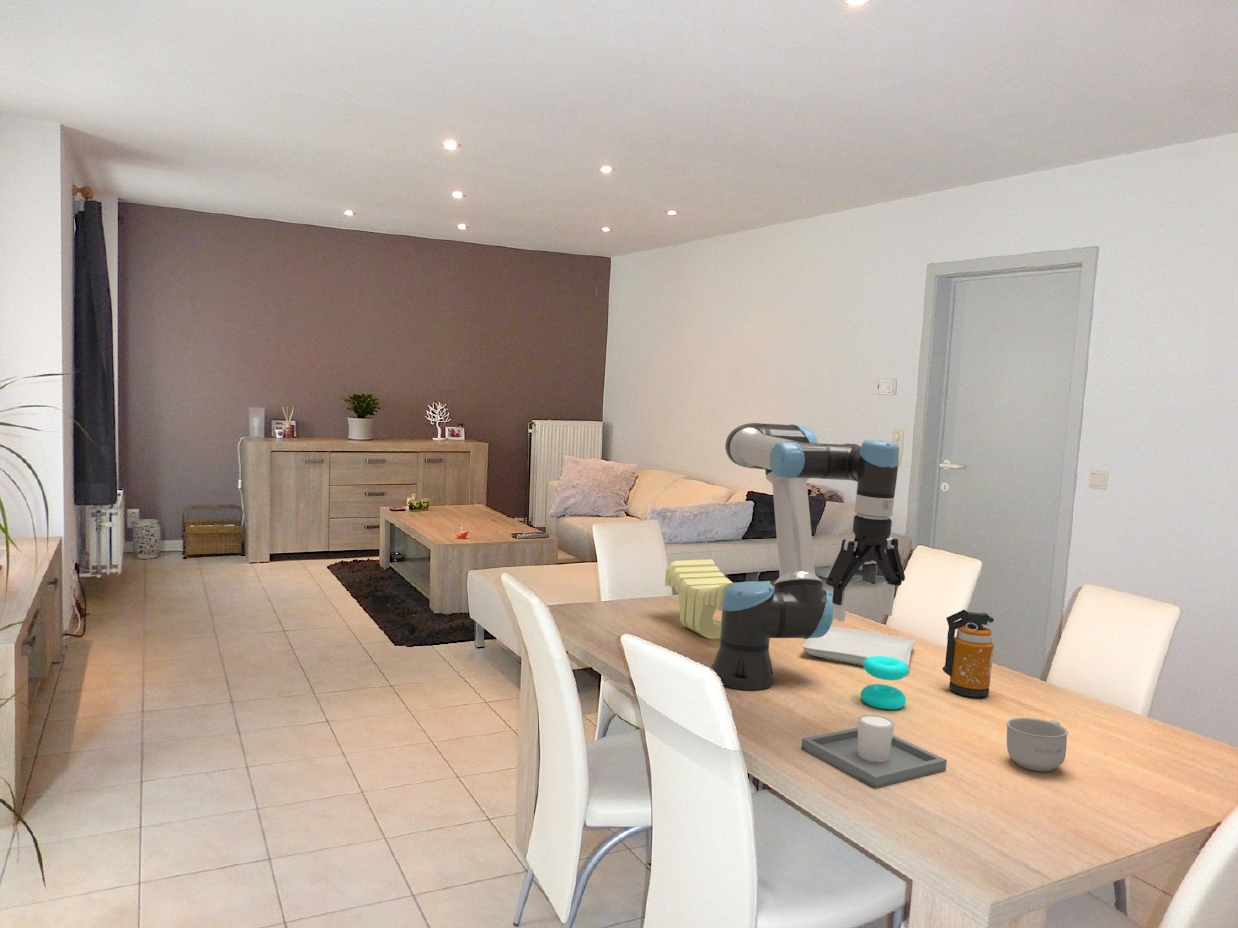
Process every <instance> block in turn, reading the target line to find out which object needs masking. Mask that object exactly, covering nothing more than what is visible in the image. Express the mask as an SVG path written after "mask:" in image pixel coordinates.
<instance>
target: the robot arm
mask: <svg viewBox="0 0 1238 928" xmlns="http://www.w3.org/2000/svg"><path fill="white" fill-rule="evenodd" d="M725 440H726V441H725V445H724V446H725V447H724V448H725V453H726V455H727V457H728V458H729V460H730V461H731V462H732V463H734V464H735V465H737V466H740V467H743V468H749V469H757V470H765V479H766V481H768V482H769V483H771V484H772V495H773V505H774V506H773V507H774V508H773V509H774V519H775V520H774V521H775V531H776V532H775V534H776V545H777V546H776V547H777V559H778V571H779V577H778V578H777V579H776V581H774V583H773V585H772V584H771V583H770V584H769V583H766V582H760V581H757V580H755V581H752V580H751V581H741V582H740V583H738V582H734V583H735V584H732V585H731V586H729V587H727V589H726V590H725V592H724V599H723V603H722V611H721V619H722V622H721V636H720V638H719V640H720V641H719V647H718V650H717V652H716V655H715V658H714V661H713V663H712V665H711V666H710V669H711V668H712V669H713V670H714V671H715V672H716V673H717V675H718V676H719V677H720V678H721V681H722V683H723V684H724V686H723V687H725V688H730V689H734V690H735V689H736V690H741V691H742V690H743V691H760V690H765V689H770V688H771V687H772V686H774V681H775V673H774V670H773V664H772V660H771V656H770V651H769V649H770V639H803V640H808V639H809V638H819V637H822V636H824V635H825V634H826V633H827V632H828V630H829V629H830V626H832V624H833V621H834V620H837V621H839V622H846V621H845V620H846V612H847V609H846V608H847V601H848V591H849V590H848V589H846V587H847V586H848V584H849V583H850V582H851V580H852V579H853V577H854V576H855V575H856V573H857V571H859V568H860V567H861V566H863V565H865V563H870V562H876V565H877V566H878V568H879V570H880V572H881V573H882V576H883V577H884V579H885V582H882V588H881V598H880V604H879V605H880V606H879V607H880V608H879V613H881V614H883V615H886V616H889V617H890V616H891V617H892V616H893V610H894V601H895V598H896V593H897V586H901V585H902V582H904V581H905V580H906V576H905V572H904V568H903V564H902V560H901V556H900V553H899V539H897V538H894V537H890V536H891V532H892V524H893V521H892V518H891V517H892V516H893V513H894V511H893V509H894V501H895V495H896V487H897V479H898V478H897V477H898V471H899V465H900V460H899V457H900V446H899V445H898V443H896V442H895V441H887V440H879V439H864V440H863V442H862V443H861V445H859V444H857V443H840V444H839V443H819V441H818V439H817V436H816V434H815V433H814V431H813V430H812V429H811V428H809V427H807V426H804V425H797V424H778V423H760V422H752V423H751V422H750V423H745V424H742V425H738V426H737V427H736V428H734V429H733V430H732V431H730V432H729V434H728V436H727V437H726V439H725ZM809 479H820V480H841V481H854V482H857V483H856V484H857V486H856V494H855V495H856V496H855V503H854V512H855V515H854V517H853V523H852V532H853V533H854V539H853V540H849V539H846V538H844V539H842V542H841V544H840V545H841V546H840V551H839V552H838V555H837V557H836V559H835V561H834V563H833V566H832V568H831V570H830V572H829V574H828V577H827V578H826V581H825V584H826V585H827V586H830V587H832V588H833V590H832V591H833V592H832V593H831V592H830V590H828V589H825V588H824V587H823V585H824V584H823V580H822V579H821V578H819V576H817V574H816V569H815V557H814V556H815V555H814V547H813V546H814V545H813V537H812V534H813V533H812V524H811V513H810V512H811V511H810V503H809V494H808V493H809V491H808V490H809V489H808V480H809Z"/></svg>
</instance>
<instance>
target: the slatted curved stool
mask: <svg viewBox="0 0 1238 928" xmlns="http://www.w3.org/2000/svg"><path fill="white" fill-rule="evenodd" d="M664 581H665V582H664V586H665V587H666V586H667V587H668V586H669V587H671V588H674V590H675V592H676V594H678V604H679V605H678V606H679V622H680V624H681V625H682V626H683V627H685V628H686V629H689V630H691V631H693V632H695V633H696V634H699V635H700V636H702V637H704V638H707V639H710V640H711V639H720V636H721V622H722V618H713V617H714V614H715V613H716V611H717V610H718V611H720V612H722V603H723V599H724V592H725V590H726V589H727V587H729V586H731V585H732V584H735V583H736V582H733V581H731V580H730V579H729V578H728V577H727V576H726V575H725V574H724V573H723V572H722V571H721V570H720V568H719V567H718V566H716V563H715V561H714V560H713V558H712V559H710V558H709V559H688V560H684V559H683V560H674V561H672V562H671V563H670V564H669V565H668V566H667V567H666V570H665V579H664ZM759 582H766V583H769V584H771V580H765V581H764V580H762V581H761V580H759ZM737 583H740V582H737Z"/></svg>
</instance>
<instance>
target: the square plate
mask: <svg viewBox="0 0 1238 928" xmlns="http://www.w3.org/2000/svg"><path fill="white" fill-rule="evenodd" d="M915 644H916V640H915V639H913V638H911V639H910V638H906V637H903V636H902V637H901V636H895V635H891V634H885V633H880V632H874V631H870V630H869V631H867V630H861V629H856V628H855V629H854V628H849V627H839V626H832V625H831V626H830V629H829V630H828V632H827V633H826V634H825V635H824V636H822V637H819V638H809V639H806V641H805V642H804V643H803V645H802V648H803V650H804V651H805V652H806V654H809V655H811V656H813V657H816V658H817V657H818V658H821V659H824V660H827V661H834V662H839V663H844V662H846V663H845V664H850V663H851V664H852V665H856V664H858V665H857V666H862V667H863V663H864V661H865V659H867V658H868V657H872V656H886V657H892V658H896V659H899V660H901V661H903V662H904V663H906V664H907V666H908V667H909V665H910V661H911V655H912V651H913V648H914V646H915Z"/></svg>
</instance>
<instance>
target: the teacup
mask: <svg viewBox="0 0 1238 928" xmlns="http://www.w3.org/2000/svg"><path fill="white" fill-rule="evenodd" d="M1068 734H1069V731H1068V729H1067V728H1065V727H1064V726H1062V725H1061V723H1060V722H1059V721H1057V720H1051V719H1050V720H1049V721H1048V720H1046V719H1045V720H1044V719H1040V718H1034V717H1033V718H1032V717H1028V718H1027V717H1015V718H1011V719H1008V720H1007V721H1006V750H1007V753H1008V755H1009V757H1010V758H1011V759H1012V760H1013V761H1014V762H1015V763H1016V764H1017V766H1018V765H1019V767H1022V768H1025V769H1027V770H1031V771H1036V772H1051V771H1053V770H1055V769H1056V768H1057V767H1059V766H1061V765H1062V764H1063V763H1064V762H1065V759H1066V754H1067V753H1066V752H1067V745H1068V744H1067V743H1068V740H1067V739H1068Z"/></svg>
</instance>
